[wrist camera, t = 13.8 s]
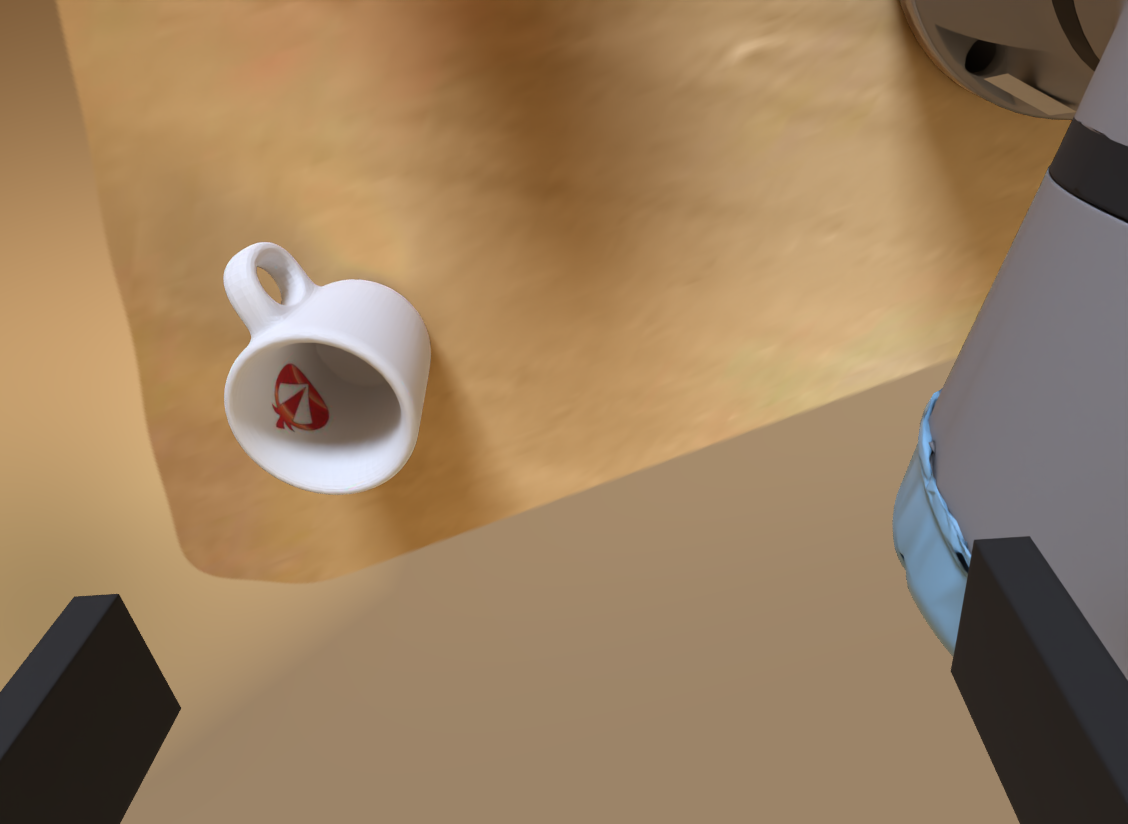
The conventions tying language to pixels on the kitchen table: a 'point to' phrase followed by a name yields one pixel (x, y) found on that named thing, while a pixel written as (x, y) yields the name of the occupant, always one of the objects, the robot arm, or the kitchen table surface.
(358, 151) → the kitchen table surface
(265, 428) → the cup
